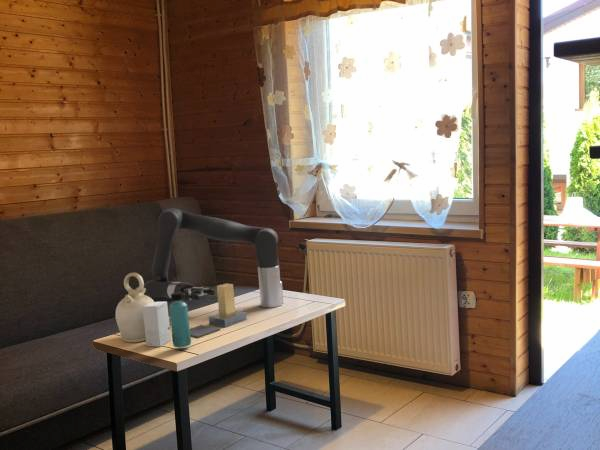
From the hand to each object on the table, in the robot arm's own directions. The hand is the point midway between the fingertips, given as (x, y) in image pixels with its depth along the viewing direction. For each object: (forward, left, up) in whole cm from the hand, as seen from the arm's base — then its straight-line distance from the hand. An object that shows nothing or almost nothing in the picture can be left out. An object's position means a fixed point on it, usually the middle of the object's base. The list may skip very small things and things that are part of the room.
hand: (206, 294), depth 263 cm
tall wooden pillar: (0, +12, -7) cm, 13 cm away
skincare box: (+32, +8, -10) cm, 35 cm away
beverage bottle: (+32, +22, -10) cm, 40 cm away
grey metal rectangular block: (0, +12, -10) cm, 15 cm away
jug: (+31, -4, -10) cm, 33 cm away
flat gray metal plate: (+15, +12, -10) cm, 21 cm away
